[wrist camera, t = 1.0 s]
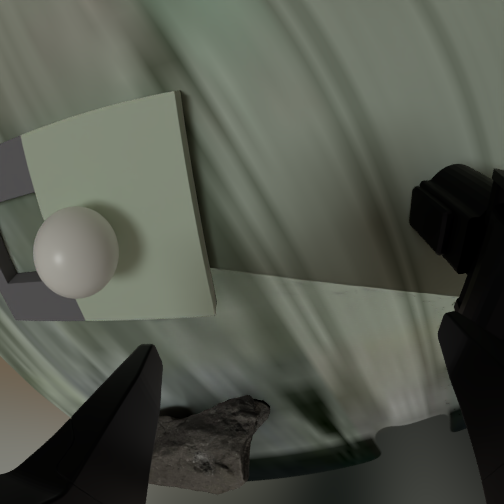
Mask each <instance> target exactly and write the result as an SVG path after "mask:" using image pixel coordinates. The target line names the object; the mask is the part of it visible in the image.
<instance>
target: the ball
mask: <svg viewBox="0 0 504 504" xmlns="http://www.w3.org/2000/svg"><path fill="white" fill-rule="evenodd" d="M33 258H34V264H35V267H36V270H37V273H38V275H39V277H40V278H41V280H42V281H43V282H44V284H45V285H46V286H47V287H48V288H49V289H50V290H52V291H53V292H55V293H56V294H58V295H60V296H63V297H66V298H72V299H80V298H86V297H89V296H92V295H94V294H96V293H97V292H99V291H100V290H102V289H103V288H104V287H105V286H106V285H107V284H108V283H109V281H110V280H111V279H112V277H113V275H114V273H115V271H116V268H117V264H118V259H119V246H118V241H117V237H116V234H115V232H114V230H113V228H112V227H111V225H110V224H109V222H108V221H107V220H106V219H105V218H104V217H103V216H102V215H100V214H99V213H98V212H96V211H94V210H92V209H89V208H86V207H81V206H72V207H66V208H63V209H60V210H58V211H56V212H55V213H53V214H52V215H50V216H49V217H48V218H47V219H46V220H45V221H44V222H43V224H42V225H41V227H40V228H39V230H38V232H37V235H36V237H35V241H34V247H33Z"/></svg>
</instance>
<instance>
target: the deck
mask: <svg viewBox="0 0 504 504" xmlns="http://www.w3.org/2000/svg"><path fill="white" fill-rule="evenodd" d="M33 192H35V194H36V197H37V201H38V204H39V207H40V210H41V213H42V216H43V219H44V221H45V220H46V219H47V218H48V217H49V216H50V215H52V214H53V213H55V212H56V211H58V210H60V209H63V208H66V207H72V206H81V207H86V208H89V209H92V210H94V211H96V212H98V213H99V214H100V215H102V216H103V217H104V218H105V219H106V220H107V221H108V222H109V224H110V225H111V227H112V228H113V230H114V232H115V234H116V237H117V241H118V246H119V259H118V264H117V268H116V271H115V273H114V275H113V277H112V279H111V280H110V281H109V283H108V284H107V285H106V286H105V287H104V288H103V289H102V290H100V291H99V292H97V293H96V294H94V295H92V296H89V297H86V298H80V299H72V298H66V297H63V296H60V295H58V294H56V293H55V292H53V291H52V290H50V289H49V288H48V287H47V286H46V285H45V284H44V282H43V281H42V280H41V278H40V277H39V275H38V273H37V272H27V273H16V271H15V269H14V266H13V264H12V262H11V260H10V257H9V255H8V253H7V250H6V248H5V245H4V243H3V240H2V238H1V235H0V292H1V294H2V296H3V298H4V299H5V301H6V303H7V305H8V307H9V309H10V311H11V312H12V314H13V316H14V318H15V319H16V320H28V321H109V320H144V319H167V318H187V317H203V316H215V313H216V305H217V300H216V295H215V290H214V285H213V280H212V276H211V270H210V265H209V260H208V255H207V250H206V245H205V239H204V234H203V229H202V223H201V218H200V212H199V207H198V201H197V195H196V189H195V184H194V178H193V172H192V166H191V160H190V153H189V147H188V141H187V134H186V127H185V121H184V114H183V107H182V100H181V93H180V90H179V91H173V92H167V93H162V94H157V95H152V96H148V97H143V98H139V99H135V100H130V101H126V102H122V103H118V104H114V105H111V106H107V107H103V108H100V109H96V110H93V111H89V112H86V113H83V114H79V115H76V116H73V117H70V118H67V119H64V120H61V121H58V122H55V123H52V124H49V125H46V126H44V127H41V128H38V129H36V130H33V131H30V132H28V133H25V134H23V135H20V136H18V137H15V138H13V139H11V140H8V141H6V142H4V143H1V144H0V202H1V201H5V200H8V199H12V198H15V197H19V196H22V195H26V194H29V193H33Z"/></svg>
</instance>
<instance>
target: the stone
mask: <svg viewBox="0 0 504 504" xmlns="http://www.w3.org/2000/svg"><path fill="white" fill-rule="evenodd" d="M269 414H270V406H269V405H268V404H267V403H266V402H265V401H264V400H257V399H253V398H252V397H251V396H250V395H246V396H242V397H238V398H232V399H229V400H227V401H225V402H222V403H219V404H218V405H217V406H215V407H212V408H210V409H206V410H204V411H203V412H201V413H199V414H194V415H191V416H189V417H186V418H183V419H178V418H174V417H171V416H160V417H159V419H158V425H157V431H156V437H155V443H154V449H153V455H152V462H151V468H150V475H149V482H148V483H149V484H155V485H161V486H169V487H170V486H171V487H179V488H184V489H191V490H195V491H203V492H208V493H212V494H221V493H224V492H227V491H229V490H234V489H237V488H239V487H241V486H242V485H243V484H244V483H245V482H247V480H248V478H249V461H250V459H249V455H250V444H251V440H252V436H253V434H254V433H255V432H256V430H257V429H258V428H259V427H260V426H261V425H262V424H263V423H264V422H265V421H266V420H267V418H268V416H269Z"/></svg>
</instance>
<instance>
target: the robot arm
mask: <svg viewBox="0 0 504 504" xmlns="http://www.w3.org/2000/svg"><path fill="white" fill-rule="evenodd" d="M492 179H493V180H492ZM492 179H490V178H488V177H487V176H485V175H483V174H481V173H480V172H478V171H476V170H474V169H473V168H471V167H469V166H466V165H463V164H453V165H450V166H447V167H445V168H444V169H442V170H441V171H439V172H438V173H437V174H436V175H435V176H434V177H433V178H432V179H431V180H429V181H422V182H421V183H420V186H417V187H415V188H414V189H413V194H412V204H411V213H410V222H409V223H410V225H411V226H412V227H413V228H414V229H415V230H416V232H417V233H418V234H419V235H420V236H421V237H422V238H423V239H424V240H425V241H426V242H427V244H428V245H429V246H430V247H431V248H432V249H433V250H434V251H435V253H436V254H437V255H442V256H443V257H444V258H445V259H446V260H447V262H448V263H449V264H450V265H451V266H452V267H453V268H454V270H455V271H456V272H457V273H458V274H464V273H466V274H467V278H466V280H465V283H464V286H463V289H462V291H461V294H460V297H459V298H458V299H457V300H456V303H455V305H454V309H455V311H452V312H448V313H445V314H444V316H443V319H442V322H441V325H440V328H439V331H438V339H439V343H440V346H441V349H442V353H443V356H444V360H445V364H446V367H447V371H448V374H449V378H450V380H451V383H452V386H453V389H454V391H455V394H456V397H457V400H458V403H459V406H460V408H461V411H462V414H463V417H464V420H465V423H466V427H467V429H468V433H469V436H470V439H471V443H472V446H473V450H474V453H475V457H476V460H477V464H478V468H479V472H480V476H481V480H482V485H483V490H484V494H485V498H486V503H487V504H504V170H500V169H494V170H493V175H492ZM162 372H163V365H162V361H161V359H160V356H159V354H158V352H157V349H156V347H155V346H154V345H153V344H141V345H139V346H138V347H137V348H136V350H135V351H134V352H133V353H132V354H131V355H130V356H129V357H128V358H127V359H126V360H125V361H124V362H123V363H122V364H121V365H120V366H119V367H118V368H117V369H116V370H115V371H114V372H113V373H112V375H111V376H110V377H109V378H108V379H107V380H106V381H105V382H104V383H103V384H102V385H101V386H100V387H99V388H98V389H97V390H96V391H95V392H94V393H93V394H92V396H91V397H90V398H89V399H88V400H87V401H86V402H85V403H84V404H83V405H82V406H81V407H80V408H79V409H78V410H77V411H76V412H75V413H74V415H73V416H72V417H71V419H69V420H68V421H67V422H66V423H65V424H64V425H63V426H62V427H61V428H60V429H59V430H58V431H57V432H56V433H55V434H54V435H53V436H52V437H51V438H50V439H49V440H48V441H47V442H46V443H45V444H44V445H42V446H41V447H40V448H39V449H38V450H37V451H36V452H34V454H32V455H31V456H30V457H29V458H27V459H26V460H25V461H24V462H23V463H22V464H20V465H19V466H18V467H17V468H15V469H14V470H12V471H10V472H8V473H5V474H0V504H145V503H146V496H147V489H148V482H149V475H150V468H151V462H152V455H153V449H154V443H155V437H156V431H157V425H158V419H159V413H160V401H161V385H162Z"/></svg>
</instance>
